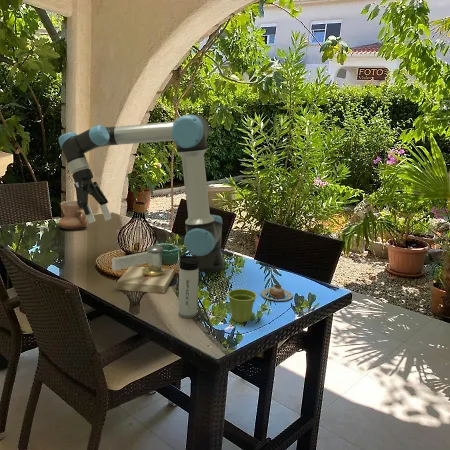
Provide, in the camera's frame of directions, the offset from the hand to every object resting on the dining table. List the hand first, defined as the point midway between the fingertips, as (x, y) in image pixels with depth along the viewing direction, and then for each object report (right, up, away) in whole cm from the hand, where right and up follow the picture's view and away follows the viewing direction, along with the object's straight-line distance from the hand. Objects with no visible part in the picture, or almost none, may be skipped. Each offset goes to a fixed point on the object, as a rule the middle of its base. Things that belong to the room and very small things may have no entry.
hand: (100, 221), depth 184 cm
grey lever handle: (+16, -21, -6) cm, 27 cm away
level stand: (+19, -24, -3) cm, 31 cm away
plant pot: (+55, -33, -30) cm, 70 cm away
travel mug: (+37, -32, -28) cm, 56 cm away
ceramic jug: (-33, -4, +68) cm, 75 cm away
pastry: (+69, -29, -10) cm, 75 cm away
